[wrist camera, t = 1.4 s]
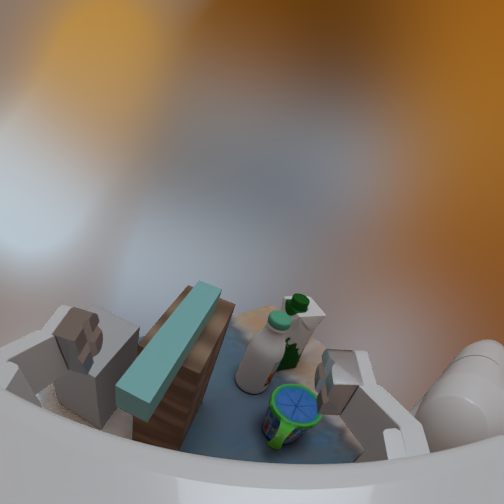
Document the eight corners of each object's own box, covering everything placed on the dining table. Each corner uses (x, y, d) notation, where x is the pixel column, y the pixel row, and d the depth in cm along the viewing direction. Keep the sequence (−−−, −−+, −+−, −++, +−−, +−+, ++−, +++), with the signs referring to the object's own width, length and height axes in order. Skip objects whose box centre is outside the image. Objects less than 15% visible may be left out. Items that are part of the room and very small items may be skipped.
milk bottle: (250, 400, 62) (283, 334, 54) (227, 377, 66) (254, 310, 58) (273, 386, 67) (307, 323, 59) (251, 365, 72) (279, 301, 64)
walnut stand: (173, 461, 43) (199, 373, 33) (132, 441, 44) (137, 344, 33) (201, 401, 58) (235, 304, 47) (166, 385, 58) (188, 285, 48)
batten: (147, 422, 25) (149, 403, 23) (115, 405, 25) (115, 385, 24) (215, 308, 45) (221, 289, 43) (194, 299, 45) (199, 280, 44)
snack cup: (274, 397, 65) (291, 368, 60) (313, 420, 61) (334, 393, 57) (238, 440, 51) (254, 414, 47) (283, 468, 48) (306, 445, 44)
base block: (101, 429, 43) (95, 377, 37) (58, 401, 44) (45, 345, 38) (134, 382, 56) (139, 326, 50) (95, 360, 57) (94, 303, 50)
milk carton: (256, 349, 78) (283, 287, 70) (285, 346, 82) (314, 287, 74) (270, 374, 71) (302, 311, 63) (300, 369, 75) (334, 309, 67)
